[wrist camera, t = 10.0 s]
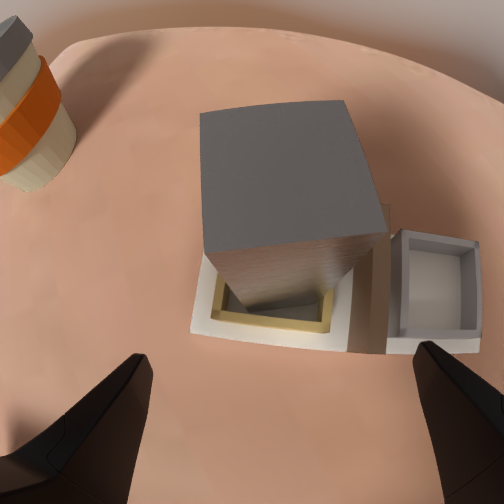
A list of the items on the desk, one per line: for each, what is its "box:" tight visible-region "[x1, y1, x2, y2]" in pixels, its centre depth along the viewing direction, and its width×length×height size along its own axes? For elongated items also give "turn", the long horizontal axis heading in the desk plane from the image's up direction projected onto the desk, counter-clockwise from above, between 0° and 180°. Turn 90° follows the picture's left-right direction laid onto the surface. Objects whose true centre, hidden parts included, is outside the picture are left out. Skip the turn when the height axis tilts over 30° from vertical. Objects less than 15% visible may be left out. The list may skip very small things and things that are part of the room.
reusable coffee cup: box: [0, 15, 77, 192], centre depth 17 cm, size 12×13×15 cm
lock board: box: [190, 204, 482, 354], centre depth 16 cm, size 20×8×5 cm, turn 82°
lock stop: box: [200, 100, 388, 312], centre depth 12 cm, size 4×4×12 cm
